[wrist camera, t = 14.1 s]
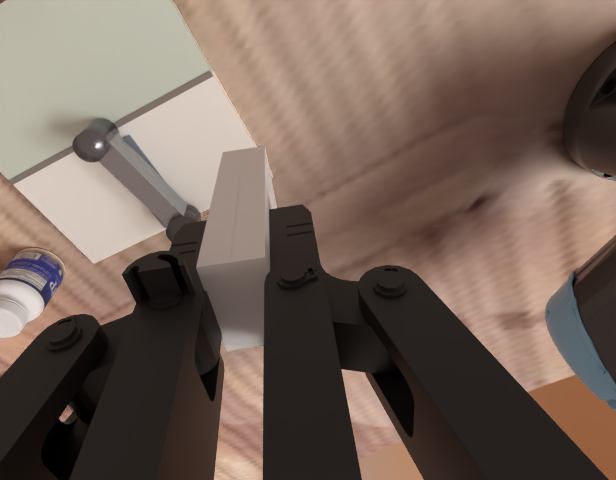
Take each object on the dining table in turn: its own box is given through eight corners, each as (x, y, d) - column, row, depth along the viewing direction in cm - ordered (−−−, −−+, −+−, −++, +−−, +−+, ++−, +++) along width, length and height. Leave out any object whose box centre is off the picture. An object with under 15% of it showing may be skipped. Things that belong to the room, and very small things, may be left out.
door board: (272, 173, 41) (272, 179, 40) (97, 257, 45) (93, 264, 43) (129, -76, 29) (124, -78, 28) (-93, 67, 33) (-105, 71, 32)
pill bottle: (56, 290, 47) (17, 350, 39) (7, 270, 44) (-43, 329, 37) (74, 260, 45) (37, 318, 37) (24, 237, 42) (-26, 293, 35)
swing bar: (82, 129, 35) (63, 146, 32) (105, 111, 35) (88, 126, 31) (186, 230, 42) (179, 253, 39) (207, 217, 41) (202, 238, 38)
